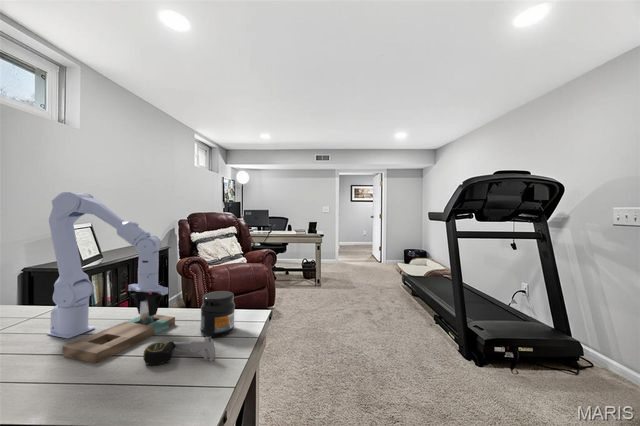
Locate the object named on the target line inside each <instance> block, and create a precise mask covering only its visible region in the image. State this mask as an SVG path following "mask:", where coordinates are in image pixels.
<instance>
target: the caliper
mask: <svg viewBox="0 0 640 426" xmlns="http://www.w3.org/2000/svg"><path fill="white" fill-rule="evenodd" d="M173 342H174V345H175V344H176V345H175V346H176V347H175V348H174V350H175V349H176V350H177V349H178V350H191V353H198V352H200V351H201V353H202V356H203V358H204V361H210V362H212V361H214V360H215V358H216V346H215V342H214V340H212V337H211V336H210V337H208V336H205V337H204V340H203V339H202V340H201V339H200V340H199V339H196V340H192V341H173Z"/></svg>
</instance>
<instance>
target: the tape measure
mask: <svg viewBox="0 0 640 426" xmlns="http://www.w3.org/2000/svg"><path fill="white" fill-rule="evenodd" d="M174 342H175V341H158V342H154V343H152V344H150V345H147V347H145V349H144V351H143V361H144V363H145V364H146V365H150V366H151V365H152V366H154V365H155V366H156V365H161V364H164V363H168V362H170V361H171V360H172V355H173V353H174V350H175V349H174V348H175V347H176V346H175V345H176V344H175V345H174Z"/></svg>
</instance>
